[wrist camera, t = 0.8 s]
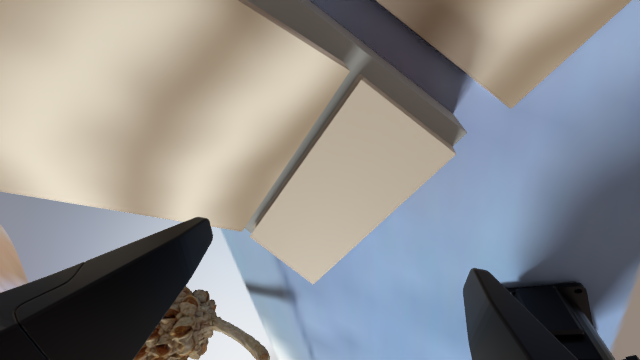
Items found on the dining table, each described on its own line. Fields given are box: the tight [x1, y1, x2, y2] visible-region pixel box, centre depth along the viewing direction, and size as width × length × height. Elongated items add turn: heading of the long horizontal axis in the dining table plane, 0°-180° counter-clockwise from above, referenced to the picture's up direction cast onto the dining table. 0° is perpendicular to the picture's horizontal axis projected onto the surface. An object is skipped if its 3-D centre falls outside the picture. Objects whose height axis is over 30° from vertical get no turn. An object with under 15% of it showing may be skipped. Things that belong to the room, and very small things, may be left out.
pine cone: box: [133, 286, 270, 360], centre depth 32 cm, size 22×10×10 cm, turn 96°
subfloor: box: [245, 0, 467, 284], centre depth 20 cm, size 22×16×6 cm
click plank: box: [0, 0, 350, 231], centre depth 14 cm, size 13×14×1 cm
